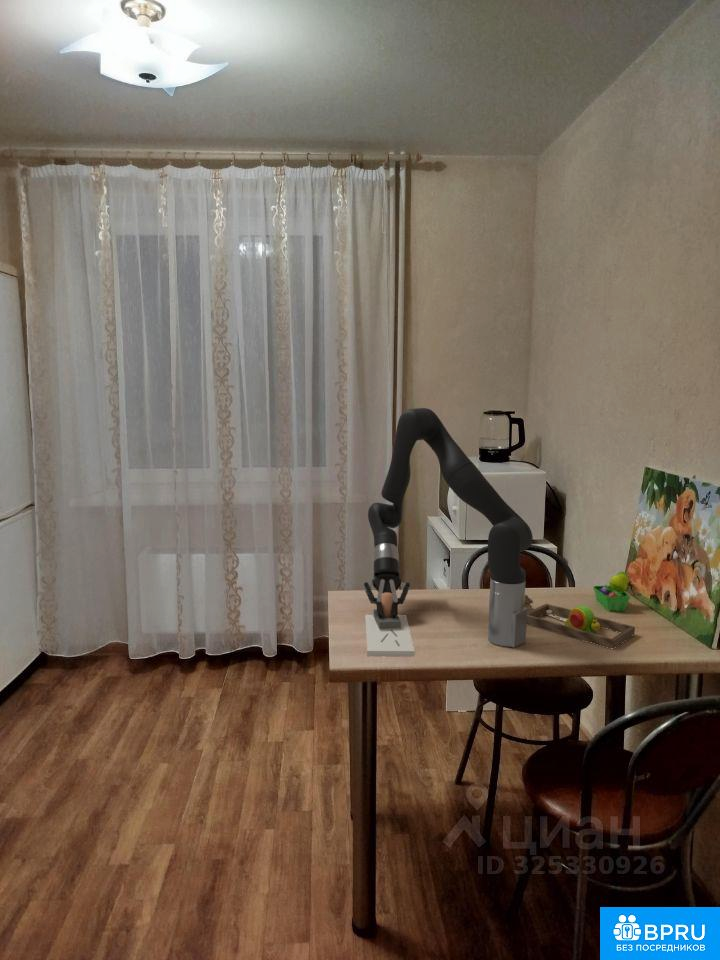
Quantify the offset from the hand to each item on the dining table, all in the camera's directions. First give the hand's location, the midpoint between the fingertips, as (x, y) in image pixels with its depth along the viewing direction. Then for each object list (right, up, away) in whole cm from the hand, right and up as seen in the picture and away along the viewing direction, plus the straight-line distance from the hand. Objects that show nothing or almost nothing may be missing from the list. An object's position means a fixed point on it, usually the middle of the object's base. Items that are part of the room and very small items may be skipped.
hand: (387, 616), depth 182 cm
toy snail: (+54, -4, +8) cm, 55 cm away
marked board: (0, -5, -3) cm, 6 cm away
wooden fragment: (+42, -1, +27) cm, 50 cm away
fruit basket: (+72, -2, +23) cm, 75 cm away
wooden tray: (+54, -4, +4) cm, 55 cm away
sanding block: (0, -2, +3) cm, 4 cm away
